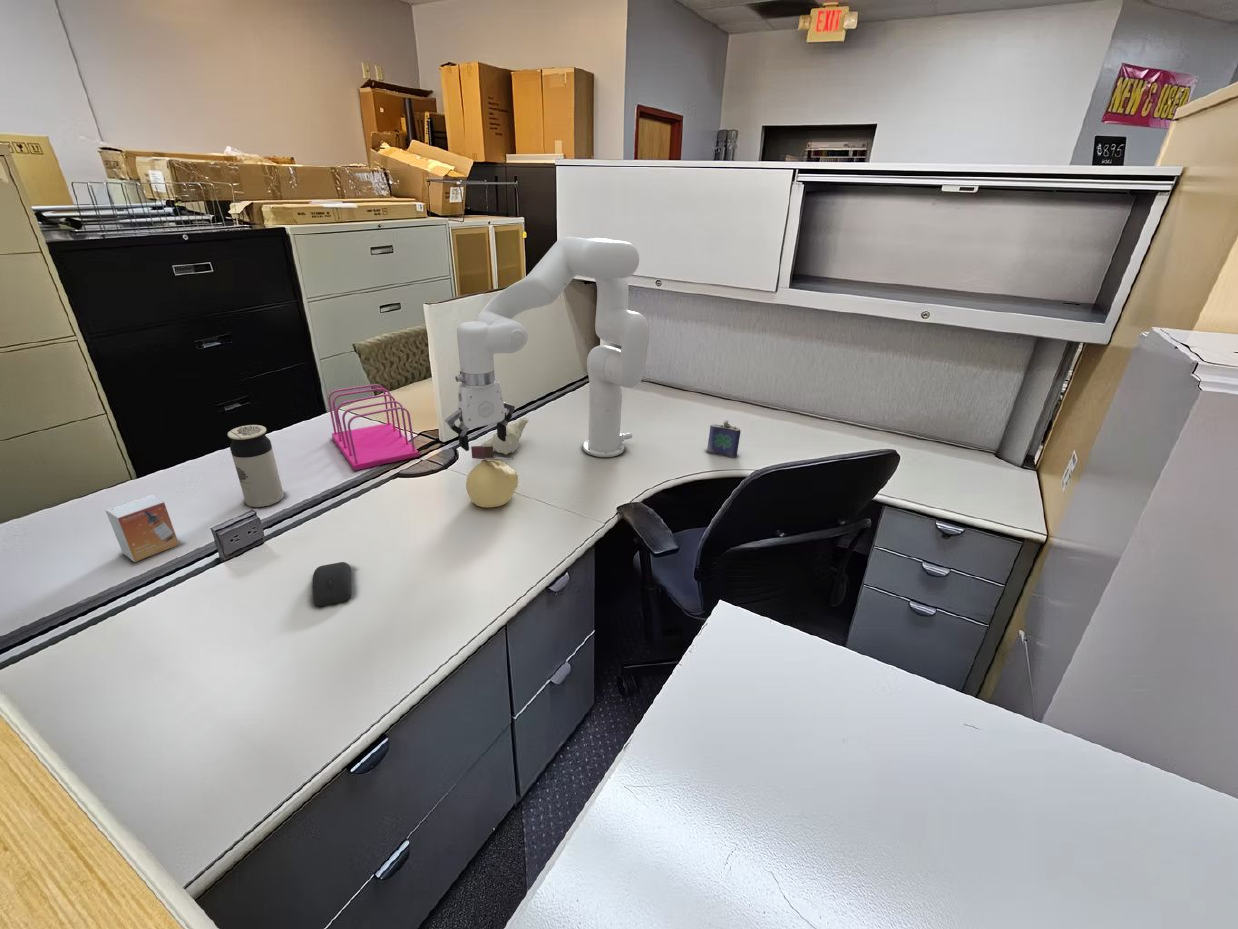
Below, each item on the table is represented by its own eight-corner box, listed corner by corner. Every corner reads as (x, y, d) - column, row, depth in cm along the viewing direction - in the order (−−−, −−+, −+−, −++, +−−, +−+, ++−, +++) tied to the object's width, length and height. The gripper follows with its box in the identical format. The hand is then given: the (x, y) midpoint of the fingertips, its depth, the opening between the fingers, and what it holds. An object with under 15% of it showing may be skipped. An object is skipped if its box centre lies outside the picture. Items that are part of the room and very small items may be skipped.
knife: (471, 458, 140) (470, 446, 140) (480, 457, 142) (480, 445, 141) (503, 460, 126) (502, 447, 126) (513, 459, 127) (512, 446, 127)
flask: (706, 452, 172) (710, 420, 167) (707, 449, 174) (712, 417, 169) (736, 458, 169) (741, 425, 164) (737, 454, 172) (742, 422, 167)
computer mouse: (314, 608, 102) (309, 591, 100) (316, 572, 111) (312, 556, 109) (351, 601, 104) (348, 584, 103) (351, 566, 114) (347, 550, 112)
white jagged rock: (489, 469, 159) (529, 438, 157) (473, 449, 158) (513, 417, 156) (503, 462, 174) (540, 433, 172) (488, 443, 173) (526, 414, 171)
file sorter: (354, 471, 149) (344, 417, 142) (332, 438, 167) (322, 388, 160) (419, 457, 159) (413, 405, 152) (391, 427, 177) (384, 379, 170)
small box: (134, 563, 111) (116, 518, 106) (122, 553, 114) (103, 509, 109) (180, 544, 117) (164, 501, 113) (167, 536, 120) (151, 493, 115)
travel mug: (278, 488, 140) (261, 421, 132) (288, 500, 135) (271, 432, 127) (241, 498, 135) (221, 429, 127) (251, 511, 130) (231, 441, 122)
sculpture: (525, 501, 140) (524, 462, 135) (485, 518, 132) (483, 478, 127) (498, 484, 147) (496, 447, 142) (458, 500, 139) (455, 461, 134)
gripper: (448, 388, 121) (456, 458, 129) (519, 375, 131) (522, 441, 139) (435, 379, 126) (443, 447, 134) (504, 366, 136) (508, 431, 144)
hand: (483, 444), depth 136 cm, fingers open, 9 cm apart
